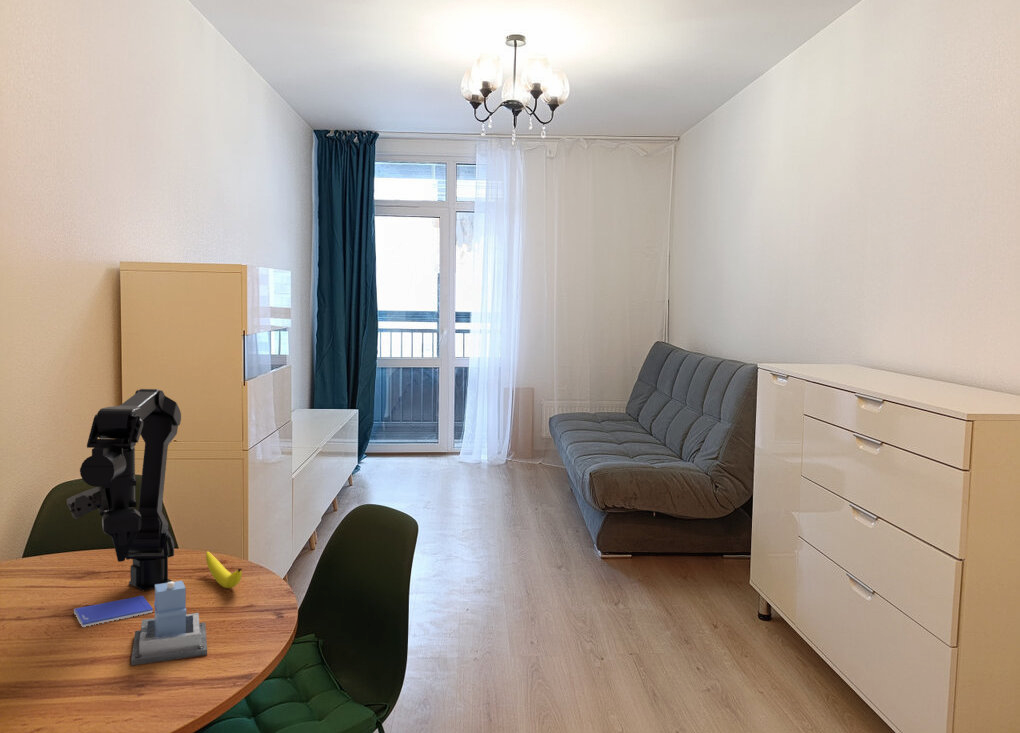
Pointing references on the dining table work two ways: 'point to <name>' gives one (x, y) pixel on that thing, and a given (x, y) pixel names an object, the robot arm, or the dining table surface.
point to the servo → (170, 609)
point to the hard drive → (112, 611)
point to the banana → (222, 572)
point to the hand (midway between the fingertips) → (119, 553)
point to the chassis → (169, 642)
